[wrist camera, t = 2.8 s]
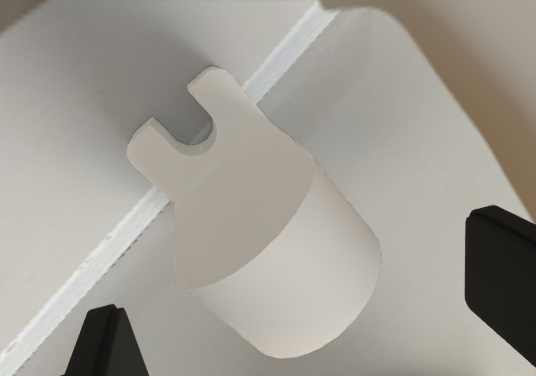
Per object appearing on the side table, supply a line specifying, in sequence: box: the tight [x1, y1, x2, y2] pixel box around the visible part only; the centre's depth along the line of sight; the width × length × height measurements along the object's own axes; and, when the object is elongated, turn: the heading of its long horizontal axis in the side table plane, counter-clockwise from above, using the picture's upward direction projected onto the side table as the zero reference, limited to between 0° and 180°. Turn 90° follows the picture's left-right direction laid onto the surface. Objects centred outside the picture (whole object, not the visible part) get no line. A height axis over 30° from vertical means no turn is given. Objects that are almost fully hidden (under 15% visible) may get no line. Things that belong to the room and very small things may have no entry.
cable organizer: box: [126, 67, 382, 359], centre depth 14 cm, size 5×10×10 cm, turn 40°
